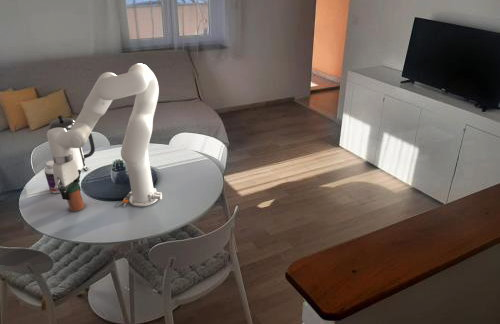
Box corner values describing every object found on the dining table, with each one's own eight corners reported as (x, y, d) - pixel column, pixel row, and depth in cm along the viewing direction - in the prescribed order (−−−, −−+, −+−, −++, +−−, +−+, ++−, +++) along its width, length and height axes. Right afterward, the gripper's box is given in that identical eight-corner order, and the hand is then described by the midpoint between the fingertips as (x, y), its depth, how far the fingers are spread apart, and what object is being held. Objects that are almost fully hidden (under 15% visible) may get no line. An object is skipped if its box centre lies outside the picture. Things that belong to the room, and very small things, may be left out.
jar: (87, 204, 180) (80, 183, 175) (79, 211, 175) (72, 191, 170) (75, 203, 182) (69, 183, 177) (67, 210, 177) (60, 190, 172)
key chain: (131, 192, 189) (130, 189, 189) (138, 193, 188) (137, 190, 188) (116, 207, 178) (115, 204, 177) (123, 208, 177) (123, 205, 177)
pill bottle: (62, 194, 189) (54, 167, 182) (46, 193, 190) (38, 166, 184) (72, 186, 196) (65, 159, 189) (57, 184, 197) (49, 158, 191)
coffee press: (81, 178, 203) (67, 121, 189) (52, 176, 205) (36, 120, 192) (98, 162, 218) (86, 108, 204) (71, 161, 220) (57, 108, 207)
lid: (69, 184, 178) (68, 181, 177) (83, 185, 176) (82, 182, 175) (59, 192, 172) (58, 189, 171) (73, 194, 170) (72, 190, 170)
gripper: (68, 148, 176) (77, 184, 184) (40, 166, 161) (50, 204, 169) (83, 149, 174) (91, 186, 182) (56, 168, 159) (66, 206, 167)
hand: (71, 194), depth 175 cm, fingers closed on lid, 6 cm apart
